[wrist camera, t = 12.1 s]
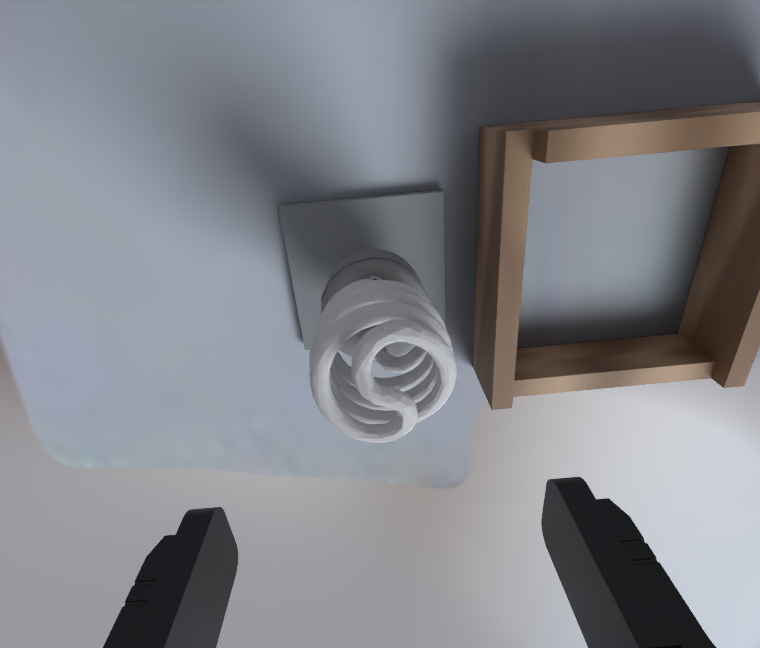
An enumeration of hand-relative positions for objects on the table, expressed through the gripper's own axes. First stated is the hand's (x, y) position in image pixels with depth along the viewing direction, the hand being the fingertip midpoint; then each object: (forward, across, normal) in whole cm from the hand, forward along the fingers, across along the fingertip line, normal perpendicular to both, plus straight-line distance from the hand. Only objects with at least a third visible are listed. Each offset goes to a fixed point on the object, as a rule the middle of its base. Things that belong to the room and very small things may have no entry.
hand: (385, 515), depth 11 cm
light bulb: (+16, 0, 0) cm, 16 cm away
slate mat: (+17, 0, 0) cm, 17 cm away
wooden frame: (+17, -14, 0) cm, 22 cm away
